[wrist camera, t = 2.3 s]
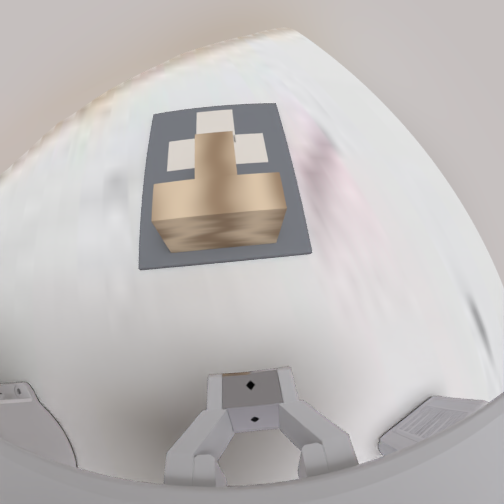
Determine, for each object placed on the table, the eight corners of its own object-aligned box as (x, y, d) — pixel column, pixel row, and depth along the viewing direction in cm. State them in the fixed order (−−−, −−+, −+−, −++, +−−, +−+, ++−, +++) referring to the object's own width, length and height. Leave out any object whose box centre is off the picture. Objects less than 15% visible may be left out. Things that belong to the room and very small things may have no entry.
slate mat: (140, 270, 31) (138, 268, 30) (154, 116, 40) (153, 114, 39) (310, 253, 32) (312, 251, 31) (275, 105, 41) (275, 103, 40)
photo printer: (383, 462, 23) (441, 495, 11) (372, 439, 24) (432, 470, 13) (442, 413, 25) (507, 422, 13) (433, 390, 26) (502, 393, 15)
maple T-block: (171, 253, 31) (151, 221, 23) (172, 180, 34) (158, 139, 27) (276, 243, 32) (286, 208, 24) (264, 172, 35) (269, 129, 28)
